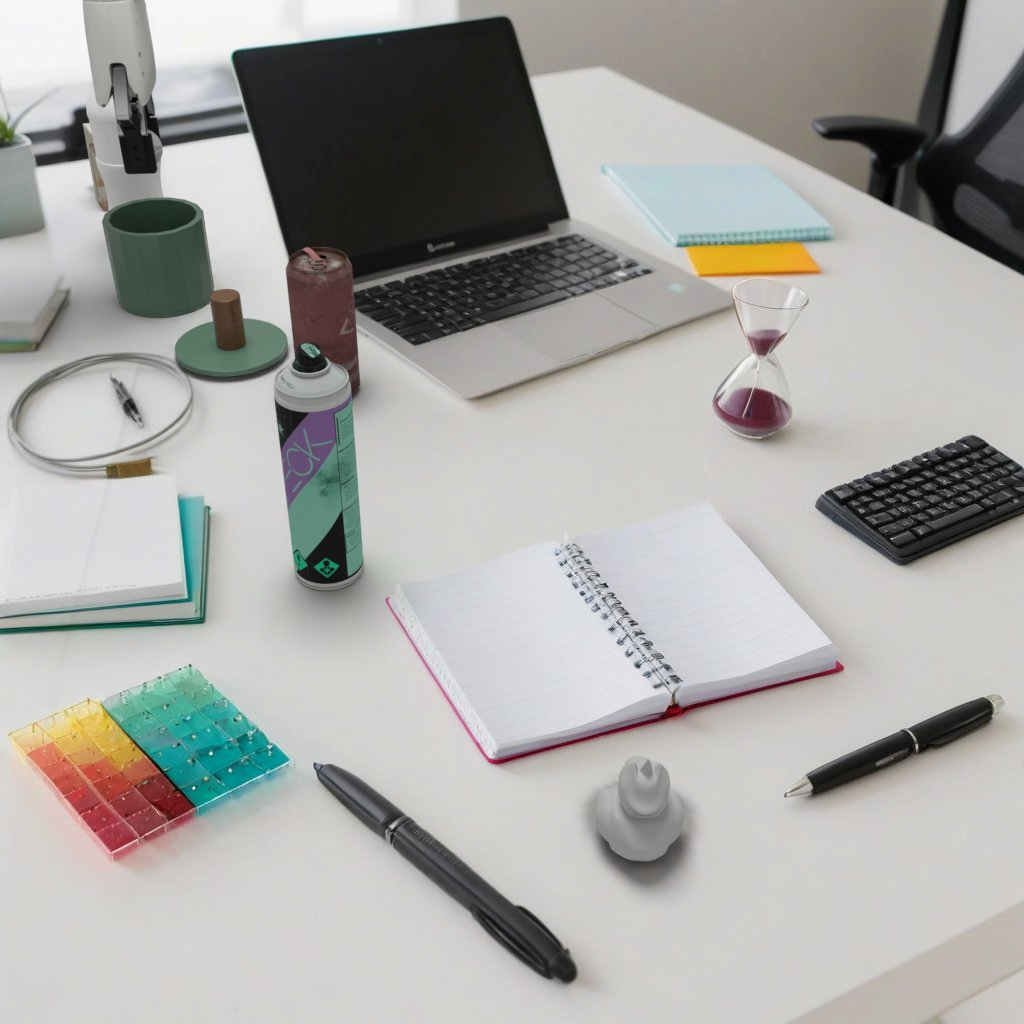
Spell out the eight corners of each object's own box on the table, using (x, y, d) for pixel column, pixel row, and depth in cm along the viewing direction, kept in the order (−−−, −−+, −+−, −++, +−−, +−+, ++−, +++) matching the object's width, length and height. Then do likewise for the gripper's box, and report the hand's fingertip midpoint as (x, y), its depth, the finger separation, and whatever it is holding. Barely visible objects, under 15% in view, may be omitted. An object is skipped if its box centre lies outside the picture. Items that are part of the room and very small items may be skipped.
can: (333, 366, 118) (322, 237, 110) (372, 390, 114) (364, 259, 106) (284, 387, 115) (269, 256, 106) (323, 412, 111) (311, 278, 103)
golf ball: (130, 160, 122) (123, 122, 120) (168, 160, 123) (162, 122, 120) (122, 174, 119) (115, 135, 117) (162, 174, 119) (155, 135, 117)
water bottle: (128, 234, 143) (88, 22, 128) (184, 239, 142) (150, 26, 127) (104, 259, 137) (59, 39, 122) (161, 263, 136) (124, 43, 121)
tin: (112, 319, 125) (95, 237, 119) (125, 277, 133) (110, 198, 128) (210, 315, 126) (198, 233, 121) (217, 274, 135) (206, 196, 129)
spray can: (312, 541, 95) (289, 324, 83) (374, 554, 94) (360, 336, 82) (283, 582, 91) (254, 359, 79) (347, 597, 90) (328, 373, 78)
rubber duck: (594, 876, 70) (603, 789, 65) (591, 789, 75) (599, 703, 70) (683, 879, 70) (699, 793, 65) (675, 793, 75) (689, 707, 70)
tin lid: (170, 384, 115) (159, 324, 110) (182, 330, 124) (172, 272, 120) (287, 379, 116) (280, 319, 112) (289, 325, 125) (283, 268, 121)
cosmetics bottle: (103, 211, 148) (88, 134, 142) (95, 200, 151) (80, 123, 145) (144, 205, 150) (130, 127, 144) (135, 193, 153) (121, 117, 147)
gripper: (84, -43, 116) (119, 138, 127) (53, -2, 103) (95, 196, 114) (161, -44, 117) (188, 136, 128) (140, -3, 104) (173, 193, 115)
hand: (144, 162), depth 121 cm, fingers closed on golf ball, 4 cm apart
